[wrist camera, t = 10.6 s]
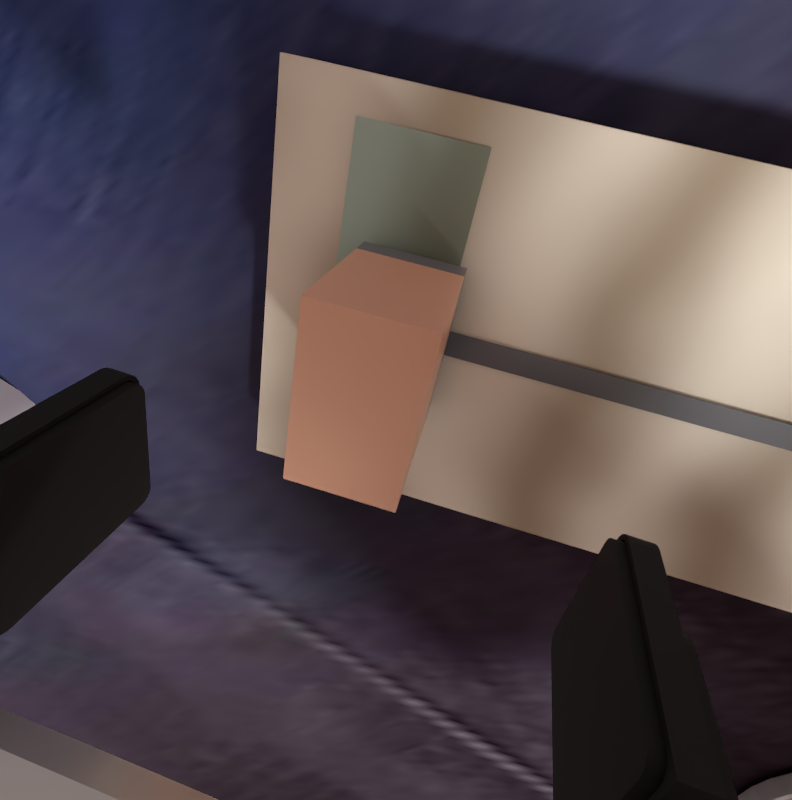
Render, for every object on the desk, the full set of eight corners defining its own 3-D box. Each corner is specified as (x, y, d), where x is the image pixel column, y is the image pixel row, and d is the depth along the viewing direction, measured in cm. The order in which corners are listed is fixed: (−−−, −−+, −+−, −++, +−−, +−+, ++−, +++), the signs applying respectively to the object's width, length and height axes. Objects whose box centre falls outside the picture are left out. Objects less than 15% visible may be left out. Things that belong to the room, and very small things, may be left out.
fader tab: (467, 268, 14) (442, 333, 10) (427, 414, 17) (395, 512, 13) (364, 241, 15) (300, 295, 10) (340, 389, 17) (283, 478, 13)
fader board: (1143, 248, 13) (1242, 272, 11) (817, 583, 20) (846, 631, 18) (308, 57, 15) (278, 51, 13) (277, 422, 22) (255, 451, 20)
